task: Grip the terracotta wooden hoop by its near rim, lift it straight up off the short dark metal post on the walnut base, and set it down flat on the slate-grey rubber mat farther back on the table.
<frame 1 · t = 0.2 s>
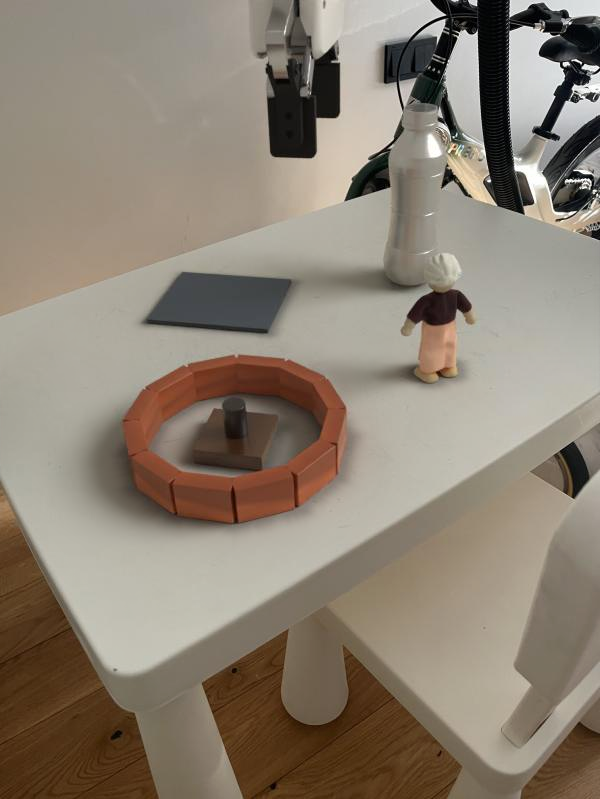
hand: (307, 135, 54), 25 cm above the table, tool pointing down, fingers open, 9 cm apart
hoop: (237, 445, 65), on the table
plastic bottle: (409, 280, 89), on the table
mat: (222, 302, 86), on the table
grandmother figurine: (431, 375, 73), on the table
post: (237, 445, 65), on the table
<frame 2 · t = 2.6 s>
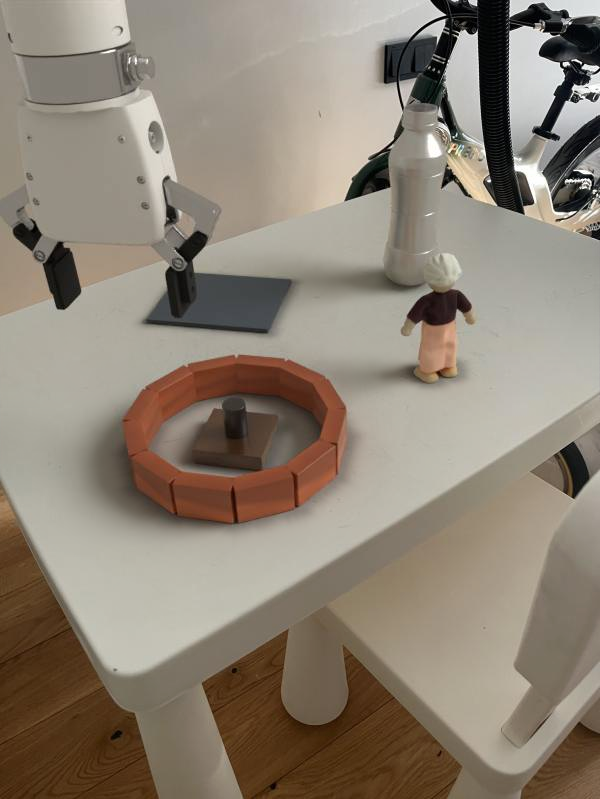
hand: (125, 305, 58), 13 cm above the table, tool pointing down, fingers open, 9 cm apart
nothing on the table moved.
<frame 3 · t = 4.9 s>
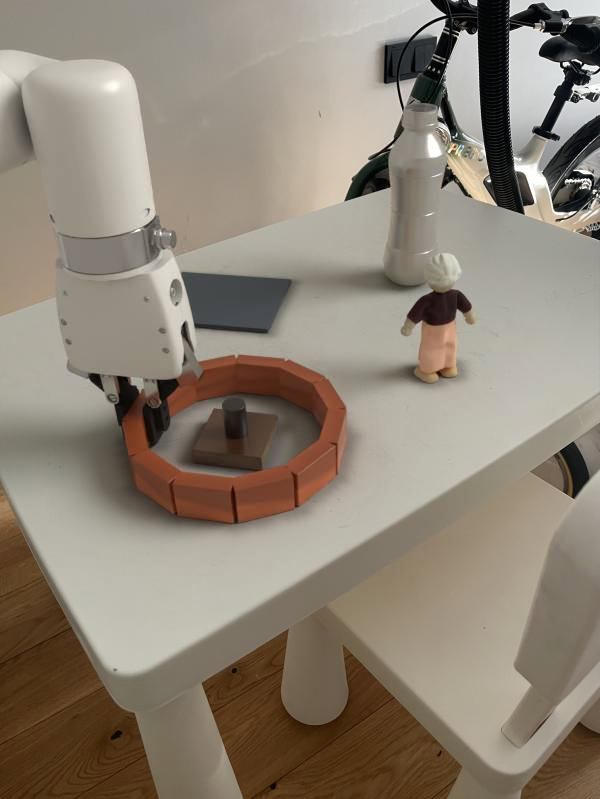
hand: (146, 431, 66), 0 cm above the table, tool pointing down, fingers closed on hoop
hoop: (237, 445, 65), on the table, touching gripper
everything else where it was.
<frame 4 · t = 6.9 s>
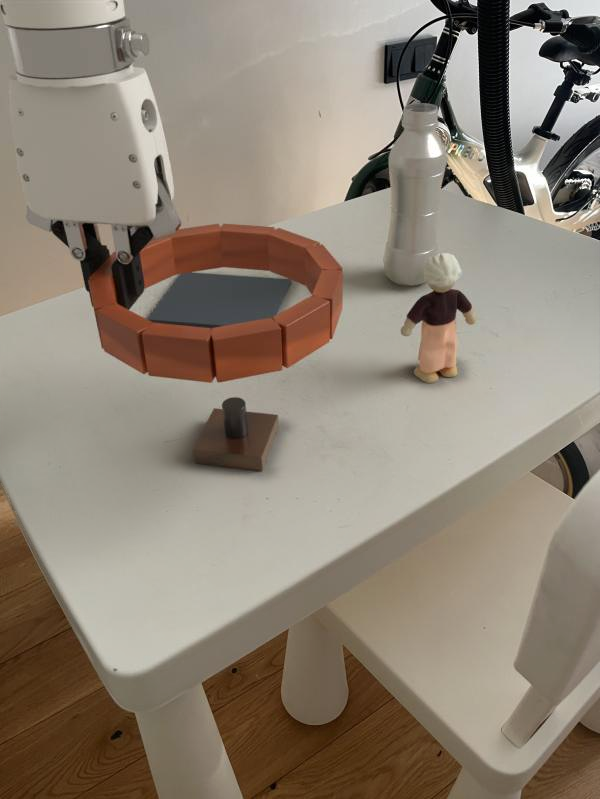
hand: (117, 299, 59), 13 cm above the table, tool pointing down, fingers closed on hoop
hoop: (220, 313, 57), point 13 cm above the table, touching gripper
everything else where it was.
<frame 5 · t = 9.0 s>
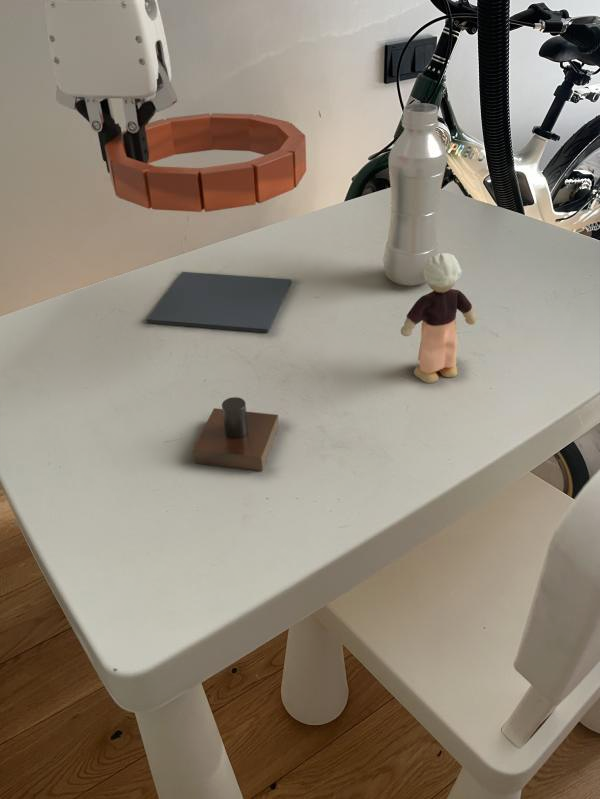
hand: (127, 168, 74), 17 cm above the table, tool pointing down, fingers closed on hoop
hoop: (209, 175, 72), point 17 cm above the table, touching gripper
everything else where it was.
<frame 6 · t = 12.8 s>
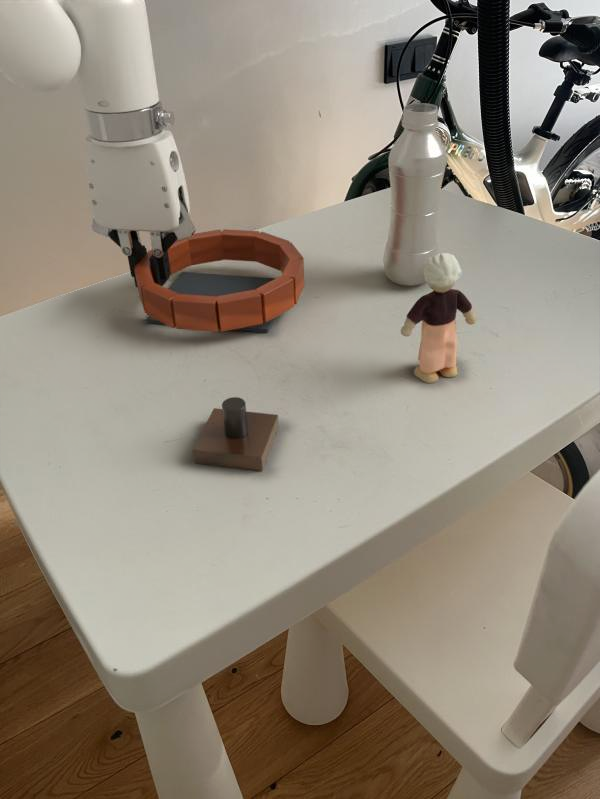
hand: (152, 282, 86), 2 cm above the table, tool pointing down, fingers closed on hoop
hoop: (222, 289, 85), point 2 cm above the table, touching gripper
everything else where it was.
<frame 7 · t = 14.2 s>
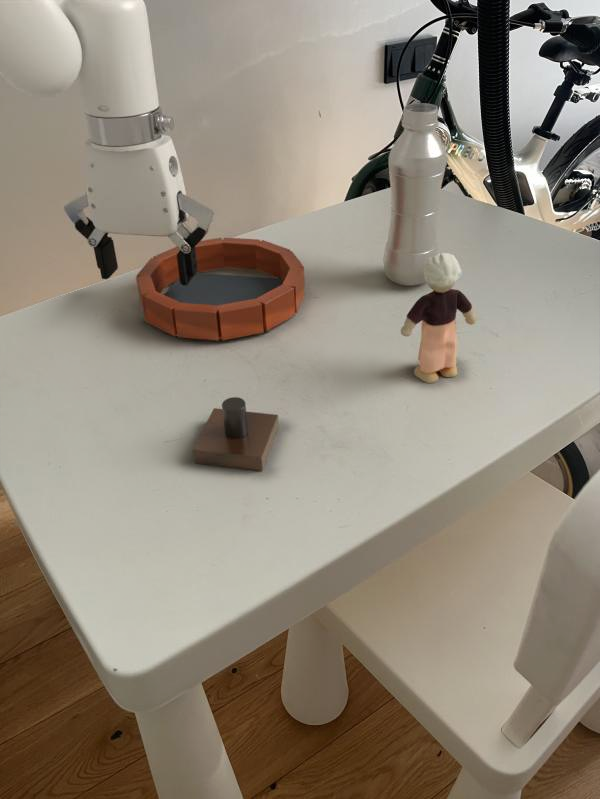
hand: (148, 277, 86), 3 cm above the table, tool pointing down, fingers open, 9 cm apart
hoop: (223, 298, 86), resting on mat
everything else where it was.
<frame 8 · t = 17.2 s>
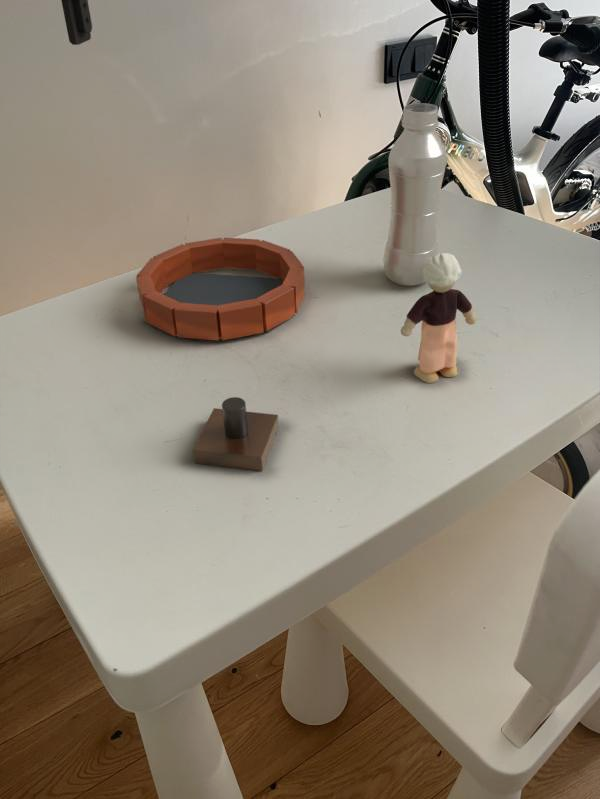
hand: (34, 41, 70), 28 cm above the table, tool pointing down, fingers open, 9 cm apart
nothing on the table moved.
at the end: hoop inside the target area on the mat (0.1 cm from its centre), point 0.5 cm above the mat's base; hoop touching mat; hoop tilted 0° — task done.
